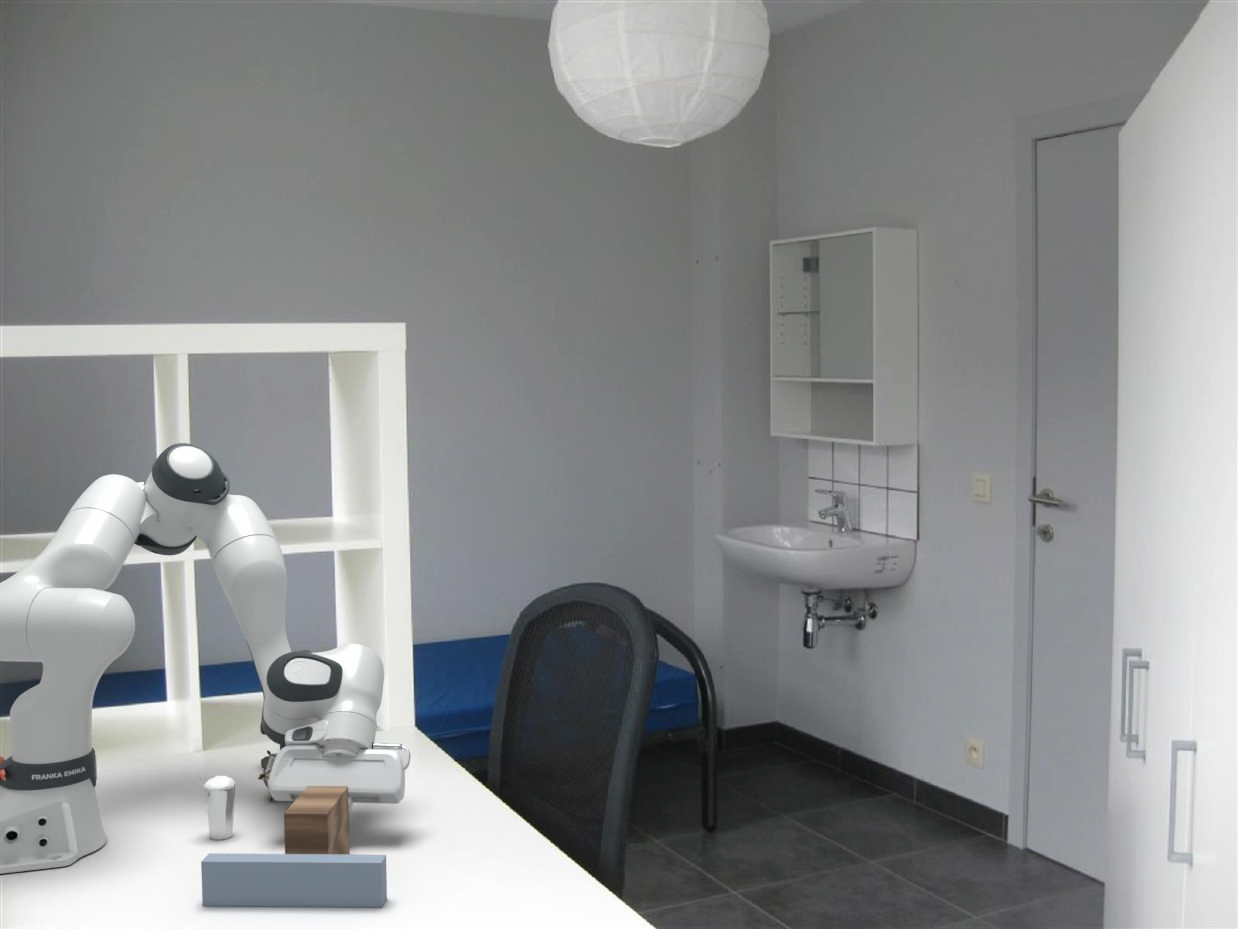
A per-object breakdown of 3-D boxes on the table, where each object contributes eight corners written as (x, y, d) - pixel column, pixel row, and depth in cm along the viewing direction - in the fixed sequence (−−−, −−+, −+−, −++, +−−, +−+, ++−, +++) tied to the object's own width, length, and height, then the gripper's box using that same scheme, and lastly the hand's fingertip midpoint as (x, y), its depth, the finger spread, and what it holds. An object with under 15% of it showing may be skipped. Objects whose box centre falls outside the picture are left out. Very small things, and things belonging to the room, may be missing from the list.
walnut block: (328, 884, 185) (327, 814, 184) (285, 884, 185) (284, 813, 185) (349, 853, 197) (348, 786, 196) (309, 852, 197) (307, 786, 197)
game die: (291, 823, 221) (293, 786, 215) (246, 802, 223) (247, 765, 216) (320, 783, 228) (322, 746, 222) (276, 763, 230) (277, 726, 223)
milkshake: (199, 834, 206) (197, 770, 205) (235, 829, 207) (233, 766, 207) (201, 844, 201) (199, 778, 201) (238, 839, 203) (236, 774, 202)
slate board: (386, 898, 180) (386, 854, 180) (382, 907, 177) (381, 863, 177) (210, 897, 181) (208, 853, 181) (202, 905, 178) (201, 861, 178)
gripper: (415, 753, 209) (402, 838, 200) (284, 750, 209) (266, 834, 201) (409, 734, 204) (396, 820, 195) (275, 731, 204) (257, 816, 196)
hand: (329, 827), depth 198 cm, fingers closed, pressing on walnut block
